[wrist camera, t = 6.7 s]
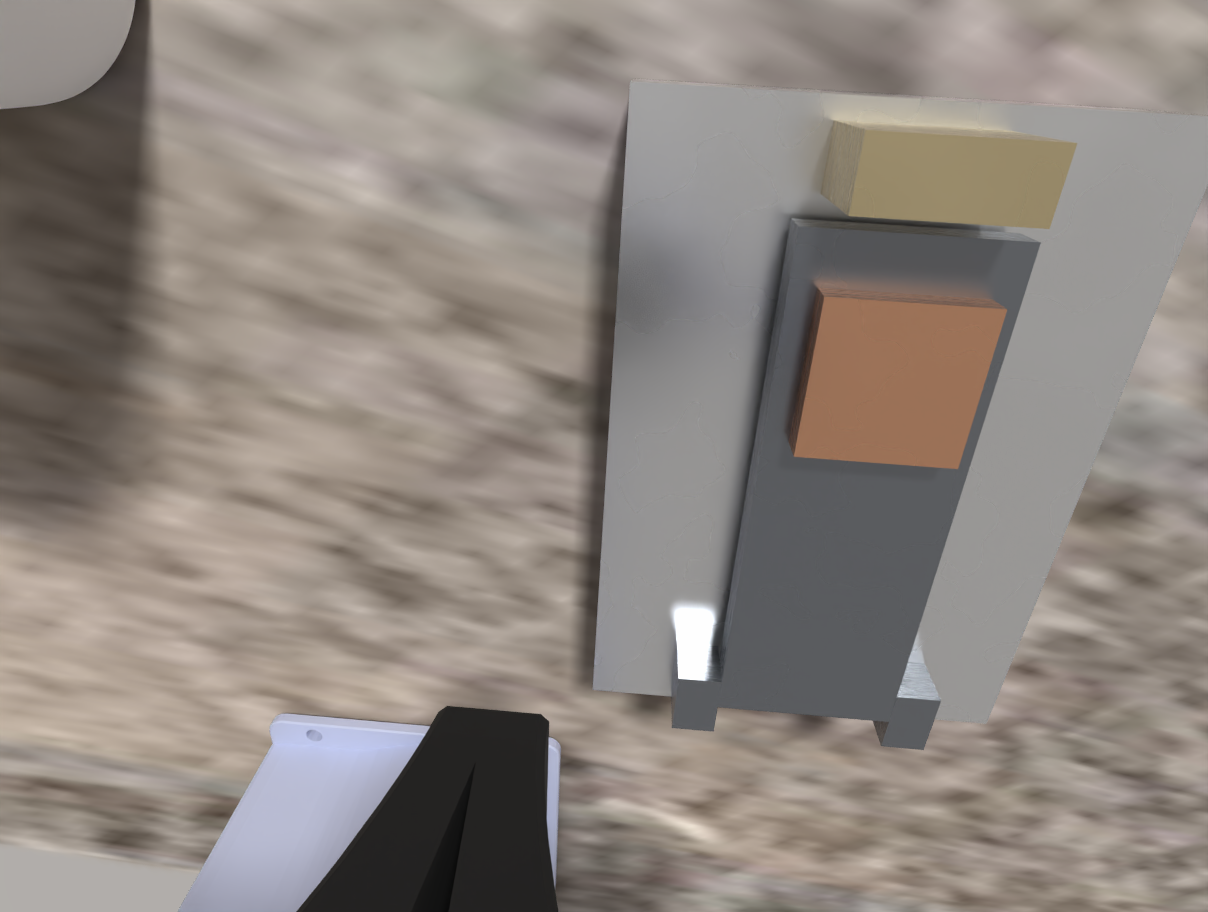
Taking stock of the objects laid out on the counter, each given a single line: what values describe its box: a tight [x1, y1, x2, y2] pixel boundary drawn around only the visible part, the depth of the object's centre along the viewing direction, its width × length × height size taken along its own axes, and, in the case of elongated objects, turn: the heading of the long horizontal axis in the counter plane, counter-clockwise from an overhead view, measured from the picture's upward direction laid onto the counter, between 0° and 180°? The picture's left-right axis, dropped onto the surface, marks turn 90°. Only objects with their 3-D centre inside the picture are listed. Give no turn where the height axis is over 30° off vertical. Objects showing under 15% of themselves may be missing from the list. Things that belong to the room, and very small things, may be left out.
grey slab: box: [718, 218, 1041, 722], centre depth 15 cm, size 4×11×1 cm, turn 177°
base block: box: [593, 79, 1208, 750], centre depth 16 cm, size 10×14×5 cm
